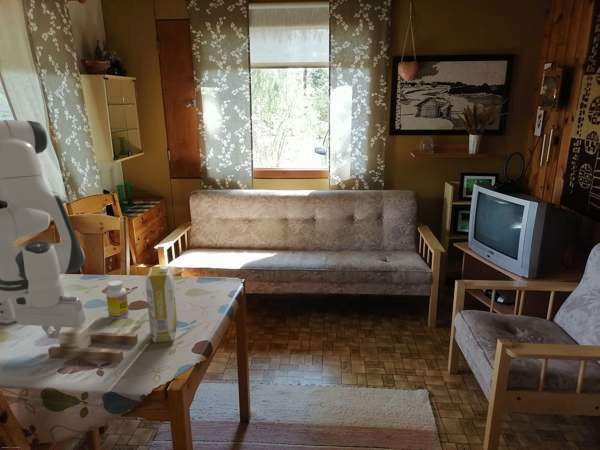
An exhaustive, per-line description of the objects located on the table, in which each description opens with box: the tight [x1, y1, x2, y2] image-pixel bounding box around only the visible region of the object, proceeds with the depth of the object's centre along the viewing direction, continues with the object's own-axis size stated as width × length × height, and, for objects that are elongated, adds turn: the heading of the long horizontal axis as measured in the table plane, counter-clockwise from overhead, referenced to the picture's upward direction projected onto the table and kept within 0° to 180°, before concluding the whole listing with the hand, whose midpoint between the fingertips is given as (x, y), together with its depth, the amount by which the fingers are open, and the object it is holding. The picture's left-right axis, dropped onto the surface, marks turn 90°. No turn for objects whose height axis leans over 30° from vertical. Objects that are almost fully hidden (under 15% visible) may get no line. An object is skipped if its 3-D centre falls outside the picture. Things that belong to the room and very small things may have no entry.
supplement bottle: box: [105, 280, 129, 319], centre depth 155 cm, size 7×7×13 cm
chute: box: [47, 331, 139, 363], centre depth 132 cm, size 22×11×4 cm, turn 84°
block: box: [58, 325, 92, 349], centre depth 132 cm, size 6×6×6 cm
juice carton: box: [145, 265, 178, 343], centre depth 139 cm, size 9×8×24 cm
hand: (54, 337), depth 133 cm, fingers closed
